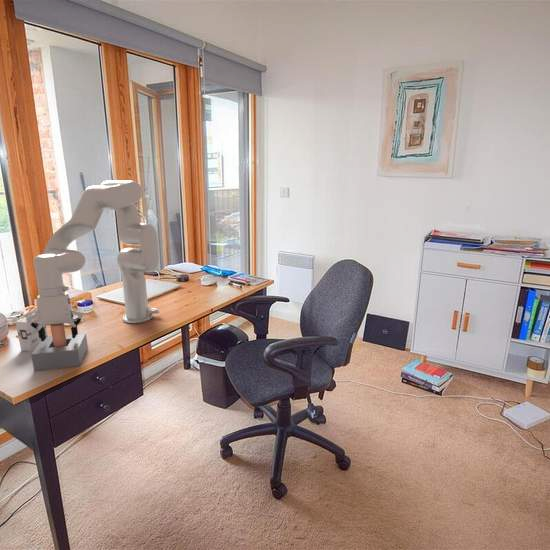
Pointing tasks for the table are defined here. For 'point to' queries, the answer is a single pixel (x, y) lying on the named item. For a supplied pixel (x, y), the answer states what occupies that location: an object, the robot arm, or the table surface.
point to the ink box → (28, 333)
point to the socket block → (60, 353)
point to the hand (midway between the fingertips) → (59, 338)
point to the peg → (58, 335)
